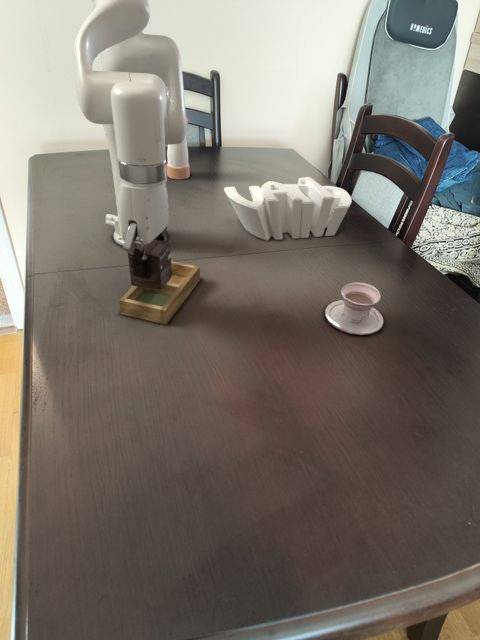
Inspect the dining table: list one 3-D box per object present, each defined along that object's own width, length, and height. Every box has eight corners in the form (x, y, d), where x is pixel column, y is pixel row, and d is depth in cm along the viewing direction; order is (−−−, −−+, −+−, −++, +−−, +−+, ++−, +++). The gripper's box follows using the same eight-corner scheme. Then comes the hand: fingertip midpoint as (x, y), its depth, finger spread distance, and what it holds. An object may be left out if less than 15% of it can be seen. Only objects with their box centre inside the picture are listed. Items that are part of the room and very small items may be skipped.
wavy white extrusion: (233, 242, 116) (235, 201, 109) (220, 215, 128) (221, 177, 121) (358, 236, 125) (367, 198, 118) (335, 211, 137) (342, 175, 130)
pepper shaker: (188, 180, 146) (186, 114, 134) (165, 178, 146) (161, 112, 134) (191, 172, 152) (190, 109, 140) (169, 170, 152) (166, 106, 140)
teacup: (370, 343, 88) (377, 317, 84) (314, 320, 92) (319, 294, 88) (391, 315, 96) (399, 290, 92) (339, 295, 100) (344, 270, 96)
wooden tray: (121, 314, 89) (119, 300, 86) (160, 271, 102) (159, 258, 100) (166, 324, 87) (165, 310, 85) (199, 279, 101) (199, 266, 99)
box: (161, 291, 85) (158, 256, 80) (130, 286, 85) (126, 250, 81) (172, 276, 90) (171, 241, 85) (143, 270, 90) (140, 236, 86)
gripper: (145, 152, 82) (152, 244, 93) (93, 183, 68) (109, 286, 80) (185, 159, 80) (187, 251, 92) (139, 191, 67) (148, 295, 79)
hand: (150, 267), depth 86 cm, fingers closed on box, 6 cm apart
